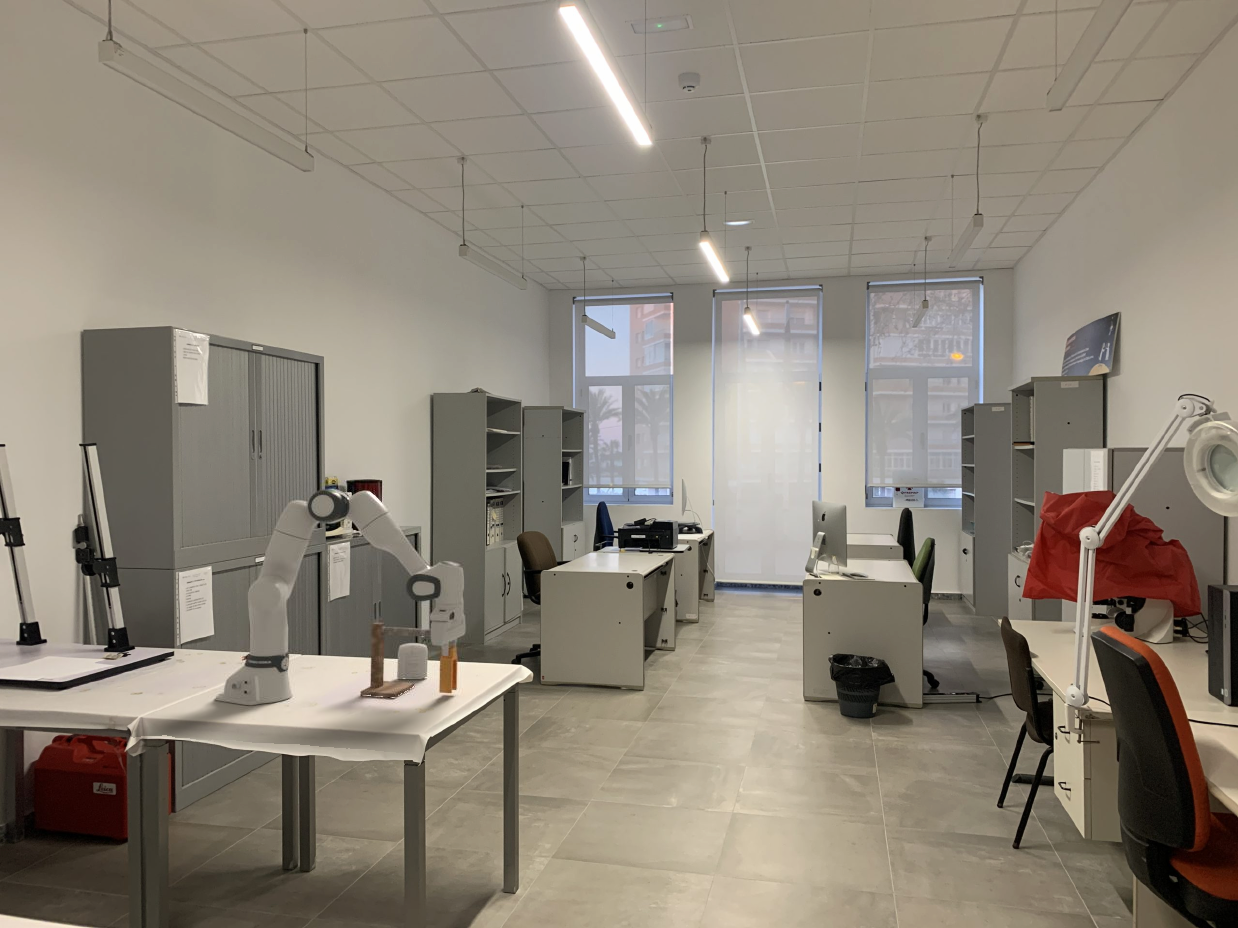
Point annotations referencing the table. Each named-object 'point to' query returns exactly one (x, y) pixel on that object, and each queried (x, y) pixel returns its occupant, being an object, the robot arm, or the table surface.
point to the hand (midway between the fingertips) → (448, 654)
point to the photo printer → (412, 661)
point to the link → (448, 671)
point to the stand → (377, 661)
